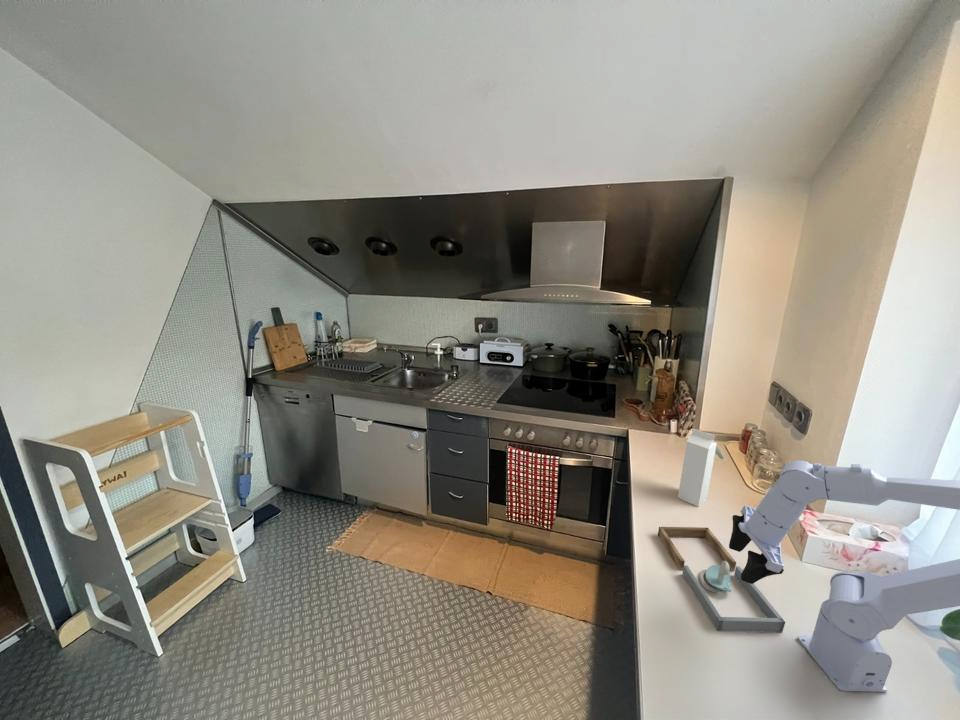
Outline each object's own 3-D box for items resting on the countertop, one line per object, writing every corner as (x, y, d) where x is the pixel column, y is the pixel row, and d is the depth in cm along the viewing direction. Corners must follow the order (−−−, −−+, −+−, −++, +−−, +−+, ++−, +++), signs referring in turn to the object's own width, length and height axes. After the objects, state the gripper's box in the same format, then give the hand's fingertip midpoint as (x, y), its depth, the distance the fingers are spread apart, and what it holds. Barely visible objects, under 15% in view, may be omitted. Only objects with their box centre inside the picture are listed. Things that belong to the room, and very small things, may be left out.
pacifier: (699, 590, 84) (731, 601, 82) (702, 567, 83) (735, 576, 80) (698, 567, 90) (728, 576, 88) (701, 545, 89) (732, 553, 86)
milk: (698, 507, 112) (710, 439, 106) (677, 497, 117) (687, 431, 111) (706, 499, 116) (719, 432, 110) (686, 490, 120) (696, 425, 114)
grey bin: (782, 632, 75) (785, 621, 74) (717, 630, 75) (719, 620, 74) (737, 575, 88) (739, 566, 87) (682, 574, 88) (683, 565, 88)
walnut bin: (734, 571, 89) (736, 562, 89) (679, 570, 89) (681, 561, 89) (706, 535, 101) (707, 527, 100) (657, 534, 101) (659, 526, 100)
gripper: (739, 484, 80) (710, 530, 85) (766, 538, 67) (730, 588, 72) (775, 496, 78) (743, 541, 84) (811, 553, 66) (770, 603, 71)
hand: (740, 564), depth 78 cm, fingers open, 7 cm apart
